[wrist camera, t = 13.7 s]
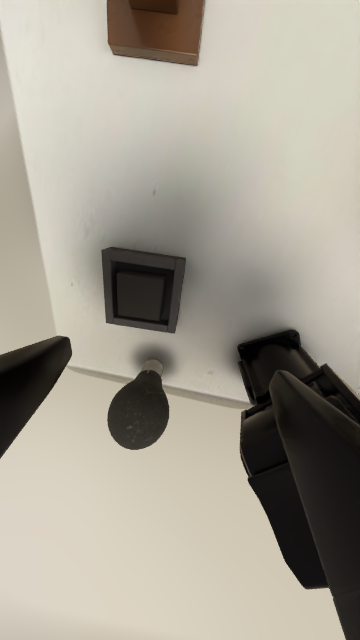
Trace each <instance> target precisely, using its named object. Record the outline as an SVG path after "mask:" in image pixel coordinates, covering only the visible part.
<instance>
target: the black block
mask: <svg viewBox="0 0 360 640" xmlns="http://www.w3.org/2000/svg"><path fill="white" fill-rule="evenodd" d="M165 283H166V275H165V274H158V273H151V272H145V271H138V270H131V269H123V270H122V271H120V272H118V273H117V295H118V315H123V316H129V317H136V318H142V319H149V320H156V321H159V320H160V318H161V315H162V313H163V304H164V294H165Z"/></svg>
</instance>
